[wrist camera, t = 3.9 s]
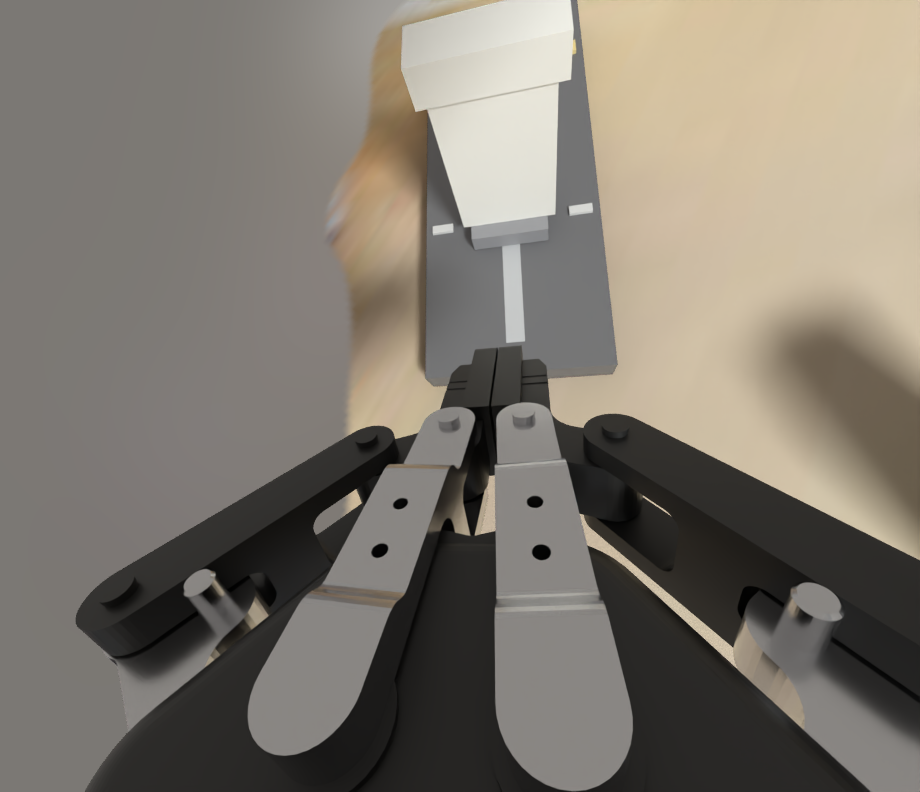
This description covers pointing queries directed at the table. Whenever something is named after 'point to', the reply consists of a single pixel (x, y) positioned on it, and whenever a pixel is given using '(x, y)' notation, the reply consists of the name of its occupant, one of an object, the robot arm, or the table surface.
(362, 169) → the table surface
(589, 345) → the fader console
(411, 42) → the fader tab
